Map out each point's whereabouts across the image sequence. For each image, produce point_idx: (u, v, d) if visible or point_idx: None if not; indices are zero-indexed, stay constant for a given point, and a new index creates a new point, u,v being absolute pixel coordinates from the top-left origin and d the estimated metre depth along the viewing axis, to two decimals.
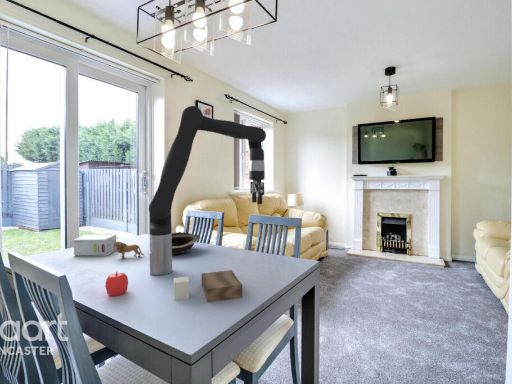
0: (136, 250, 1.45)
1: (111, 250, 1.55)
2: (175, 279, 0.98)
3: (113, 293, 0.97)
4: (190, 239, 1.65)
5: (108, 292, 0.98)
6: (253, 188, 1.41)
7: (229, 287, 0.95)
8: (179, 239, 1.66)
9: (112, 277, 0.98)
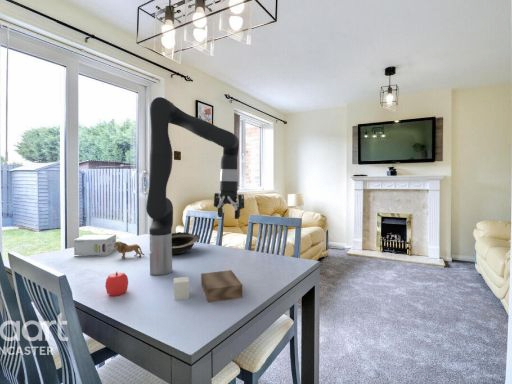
0: (137, 250, 1.45)
1: (111, 250, 1.56)
2: (175, 279, 0.98)
3: (113, 293, 0.97)
4: (190, 239, 1.65)
5: (108, 292, 0.98)
6: (218, 200, 1.22)
7: (230, 287, 0.95)
8: (179, 239, 1.66)
9: (112, 277, 0.98)
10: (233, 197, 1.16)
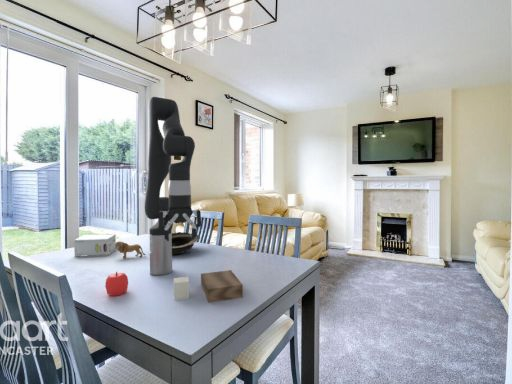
0: (138, 250, 1.46)
1: (112, 250, 1.56)
2: (175, 279, 0.98)
3: (113, 293, 0.97)
4: (190, 239, 1.65)
5: (108, 292, 0.98)
6: None
7: (230, 287, 0.95)
8: (179, 239, 1.66)
9: (112, 277, 0.98)
10: (189, 214, 0.97)
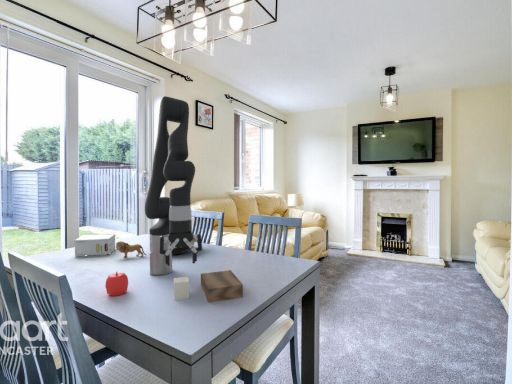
0: (139, 250, 1.46)
1: (112, 249, 1.57)
2: (175, 279, 0.98)
3: (113, 293, 0.97)
4: None
5: (108, 292, 0.98)
6: (163, 245, 0.95)
7: (230, 287, 0.95)
8: None
9: (112, 277, 0.98)
10: (190, 238, 0.97)
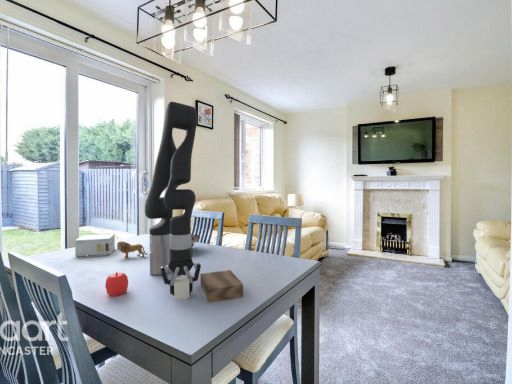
0: (140, 250, 1.46)
1: (112, 249, 1.57)
2: (175, 279, 0.98)
3: (113, 293, 0.97)
4: None
5: (108, 292, 0.98)
6: (166, 275, 0.96)
7: (231, 287, 0.95)
8: None
9: (112, 277, 0.98)
10: (190, 267, 0.97)
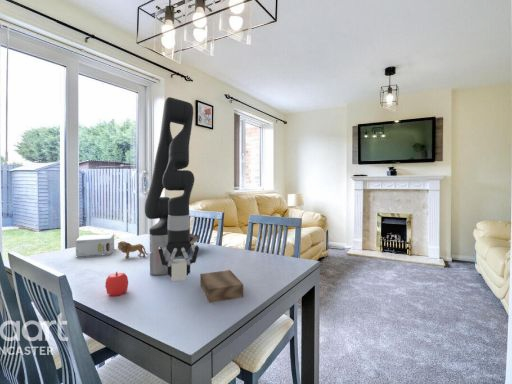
0: (141, 250, 1.46)
1: (112, 249, 1.58)
2: (173, 260, 0.98)
3: (113, 293, 0.97)
4: (190, 239, 1.65)
5: (108, 292, 0.98)
6: (164, 256, 0.96)
7: (231, 287, 0.95)
8: None
9: (112, 277, 0.98)
10: (188, 249, 0.97)
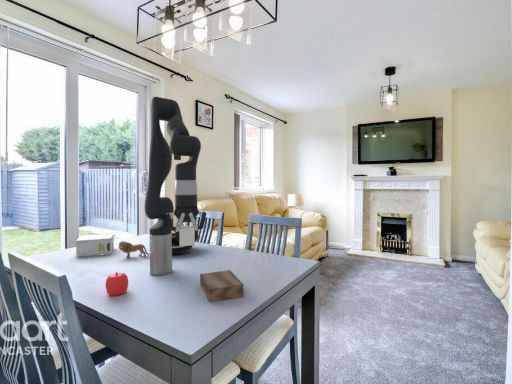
0: (141, 250, 1.46)
1: None
2: (180, 227, 0.98)
3: (113, 293, 0.97)
4: None
5: (108, 292, 0.98)
6: (172, 222, 0.96)
7: (231, 287, 0.96)
8: None
9: (112, 277, 0.98)
10: (195, 215, 0.97)
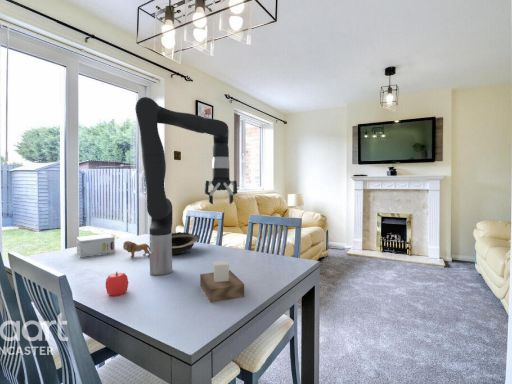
0: (146, 249, 1.47)
1: None
2: (215, 262, 1.02)
3: (113, 293, 0.97)
4: (190, 239, 1.65)
5: (108, 292, 0.98)
6: None
7: (232, 287, 0.96)
8: (179, 239, 1.67)
9: (112, 277, 0.98)
10: (228, 183, 1.24)
